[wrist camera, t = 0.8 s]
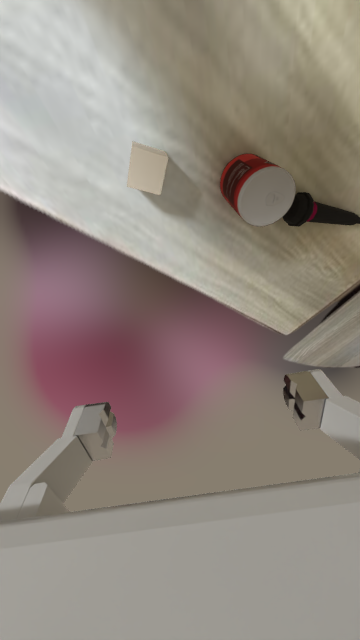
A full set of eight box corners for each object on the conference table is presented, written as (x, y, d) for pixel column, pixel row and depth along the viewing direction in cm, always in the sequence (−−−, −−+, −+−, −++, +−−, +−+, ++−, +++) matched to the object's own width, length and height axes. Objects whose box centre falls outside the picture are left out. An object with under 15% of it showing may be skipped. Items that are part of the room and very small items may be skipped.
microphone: (357, 206, 51) (279, 190, 45) (385, 207, 46) (302, 189, 40) (347, 234, 54) (271, 222, 47) (373, 237, 49) (292, 225, 42)
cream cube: (132, 141, 37) (132, 146, 33) (165, 151, 38) (168, 157, 34) (127, 178, 40) (126, 186, 36) (158, 186, 41) (160, 195, 37)
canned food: (266, 194, 44) (296, 216, 36) (223, 210, 45) (242, 235, 37) (263, 144, 39) (297, 157, 31) (214, 163, 40) (234, 180, 32)
